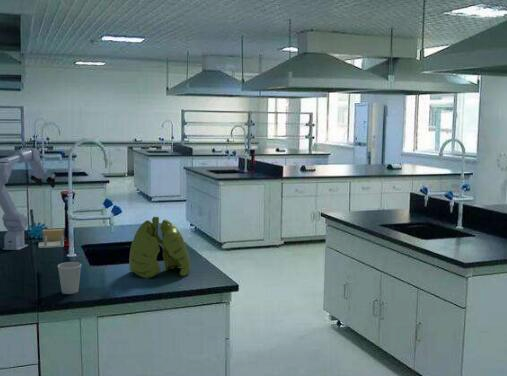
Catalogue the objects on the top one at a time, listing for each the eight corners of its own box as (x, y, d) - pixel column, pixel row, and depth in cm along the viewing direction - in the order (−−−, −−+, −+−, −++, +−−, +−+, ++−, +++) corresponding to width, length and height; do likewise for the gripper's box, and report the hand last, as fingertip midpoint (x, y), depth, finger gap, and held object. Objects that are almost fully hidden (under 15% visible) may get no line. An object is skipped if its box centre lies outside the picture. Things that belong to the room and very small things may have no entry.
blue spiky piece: (25, 236, 284) (29, 220, 290) (26, 242, 289) (29, 226, 295) (48, 238, 287) (51, 223, 293) (48, 245, 291) (51, 229, 298)
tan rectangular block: (63, 240, 286) (63, 228, 285) (63, 242, 282) (63, 230, 281) (42, 241, 282) (42, 229, 282) (42, 243, 279) (42, 231, 278)
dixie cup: (67, 287, 207) (66, 261, 206) (86, 289, 205) (86, 263, 204) (53, 293, 200) (52, 266, 198) (73, 296, 197) (72, 268, 196)
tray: (68, 242, 281) (68, 234, 280) (69, 246, 272) (69, 238, 271) (38, 243, 276) (38, 235, 276) (38, 248, 267) (38, 240, 266)
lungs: (130, 280, 218) (130, 219, 215) (128, 270, 233) (127, 213, 230) (193, 276, 225) (194, 218, 222) (187, 267, 240) (187, 211, 237)
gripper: (53, 163, 282) (63, 181, 291) (29, 160, 286) (39, 178, 295) (46, 172, 277) (56, 191, 287) (22, 169, 281) (32, 188, 291)
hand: (47, 185), depth 291 cm, fingers open, 7 cm apart
